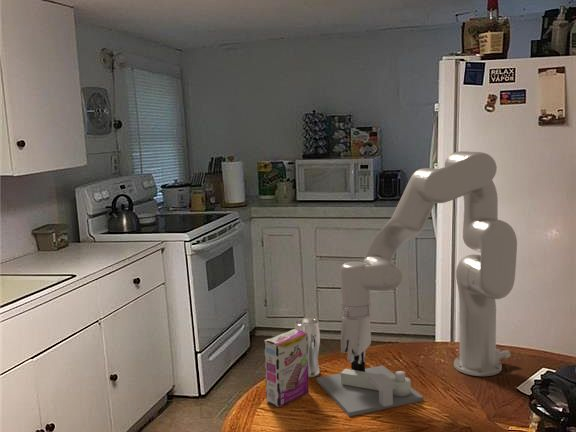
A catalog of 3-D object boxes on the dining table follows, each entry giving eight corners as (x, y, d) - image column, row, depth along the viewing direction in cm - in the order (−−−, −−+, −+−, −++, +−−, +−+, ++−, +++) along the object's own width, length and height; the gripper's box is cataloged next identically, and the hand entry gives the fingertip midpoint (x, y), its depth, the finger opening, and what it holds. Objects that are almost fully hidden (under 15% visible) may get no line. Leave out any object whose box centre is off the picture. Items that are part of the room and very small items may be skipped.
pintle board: (382, 368, 158) (382, 347, 157) (424, 401, 137) (424, 377, 137) (316, 381, 152) (315, 359, 151) (350, 417, 131) (349, 392, 130)
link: (413, 389, 141) (413, 370, 141) (407, 397, 137) (407, 378, 136) (346, 377, 150) (346, 360, 149) (339, 385, 146) (338, 367, 145)
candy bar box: (280, 408, 137) (276, 344, 135) (265, 402, 141) (262, 340, 139) (310, 392, 145) (307, 331, 143) (296, 387, 149) (293, 327, 146)
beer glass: (319, 378, 153) (317, 325, 151) (294, 377, 155) (291, 325, 153) (322, 368, 160) (320, 317, 158) (298, 367, 161) (296, 317, 159)
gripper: (354, 300, 155) (356, 363, 158) (330, 316, 142) (333, 384, 145) (380, 303, 151) (381, 367, 154) (358, 319, 139) (360, 390, 141)
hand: (358, 375), depth 149 cm, fingers closed
